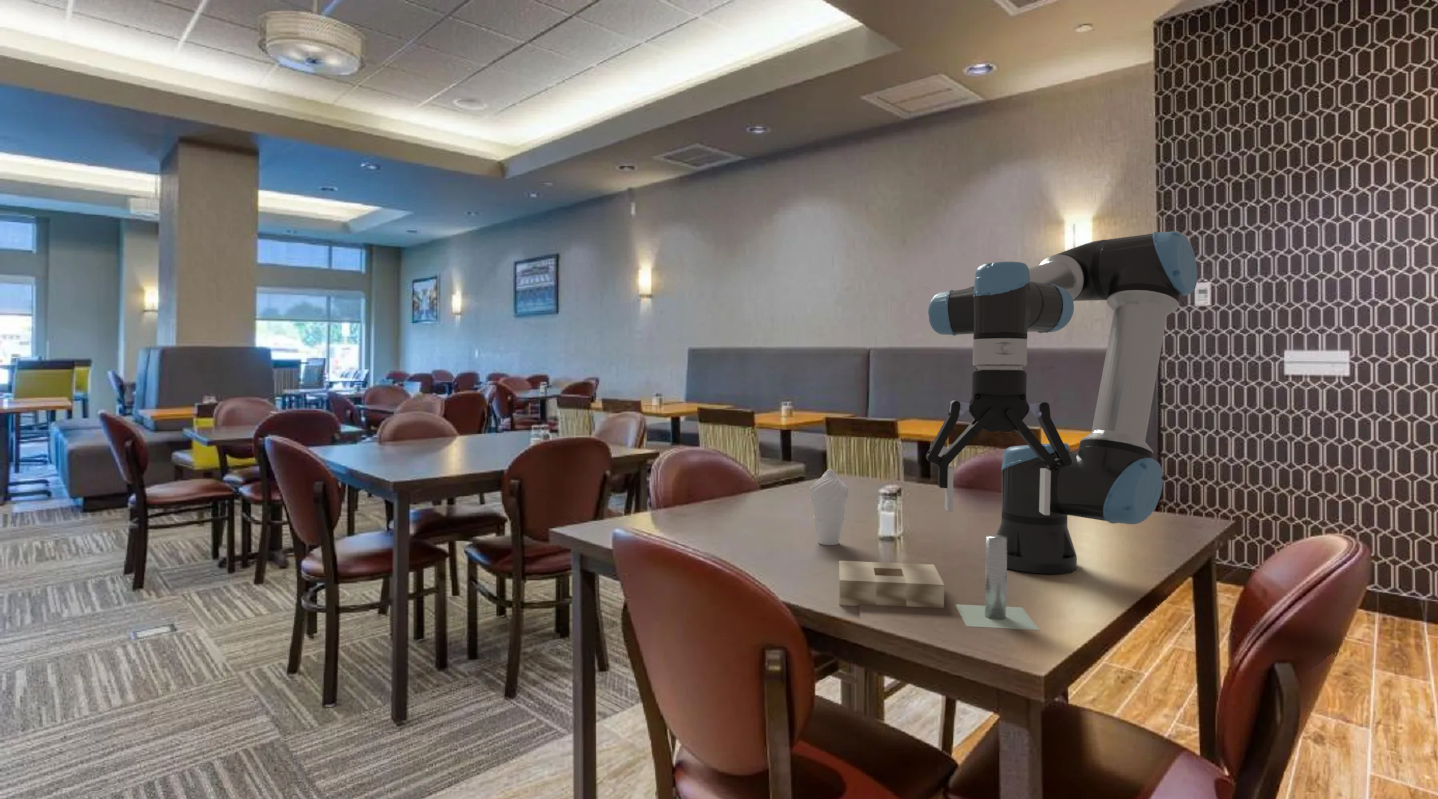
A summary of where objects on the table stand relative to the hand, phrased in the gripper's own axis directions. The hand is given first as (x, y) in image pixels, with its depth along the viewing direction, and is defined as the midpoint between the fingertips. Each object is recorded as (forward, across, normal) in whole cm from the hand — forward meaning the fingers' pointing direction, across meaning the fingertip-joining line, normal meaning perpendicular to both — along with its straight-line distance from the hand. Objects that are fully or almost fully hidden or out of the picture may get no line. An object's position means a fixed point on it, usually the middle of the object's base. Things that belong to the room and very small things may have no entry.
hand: (996, 512), depth 110 cm
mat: (+16, 0, 0) cm, 16 cm away
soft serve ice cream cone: (+16, -25, +45) cm, 54 cm away
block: (+16, -15, +9) cm, 24 cm away
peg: (+16, 0, 0) cm, 16 cm away
